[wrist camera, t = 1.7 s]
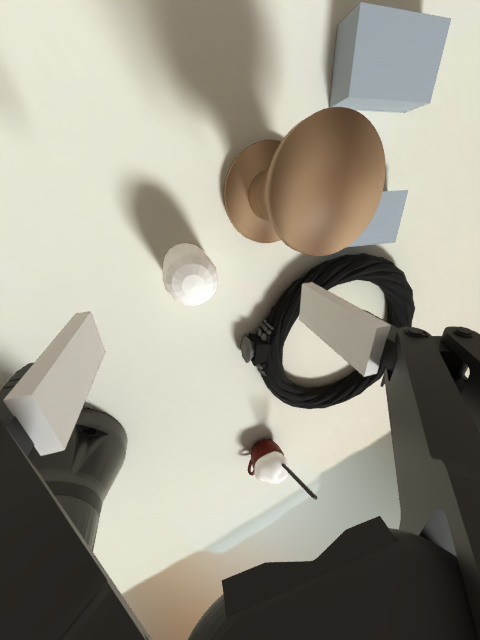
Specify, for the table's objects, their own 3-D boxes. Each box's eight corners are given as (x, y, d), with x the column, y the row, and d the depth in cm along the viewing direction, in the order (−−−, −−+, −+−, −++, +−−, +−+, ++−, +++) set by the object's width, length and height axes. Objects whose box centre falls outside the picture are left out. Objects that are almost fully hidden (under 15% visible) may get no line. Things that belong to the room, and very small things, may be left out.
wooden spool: (226, 245, 28) (263, 268, 17) (220, 141, 23) (264, 90, 13) (302, 238, 30) (374, 256, 20) (309, 143, 26) (407, 100, 15)
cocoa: (245, 461, 48) (265, 534, 38) (238, 444, 45) (258, 519, 34) (288, 444, 49) (319, 511, 38) (284, 426, 45) (317, 494, 35)
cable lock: (385, 401, 46) (239, 429, 37) (370, 388, 49) (233, 411, 41) (449, 258, 34) (259, 252, 26) (424, 254, 38) (248, 246, 29)
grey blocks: (315, 245, 31) (328, 249, 28) (337, 25, 22) (360, 1, 19) (377, 239, 33) (395, 242, 31) (420, 38, 24) (451, 18, 22)
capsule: (152, 266, 27) (148, 288, 20) (184, 232, 26) (192, 242, 19) (188, 296, 29) (195, 324, 22) (218, 265, 29) (235, 284, 22)
